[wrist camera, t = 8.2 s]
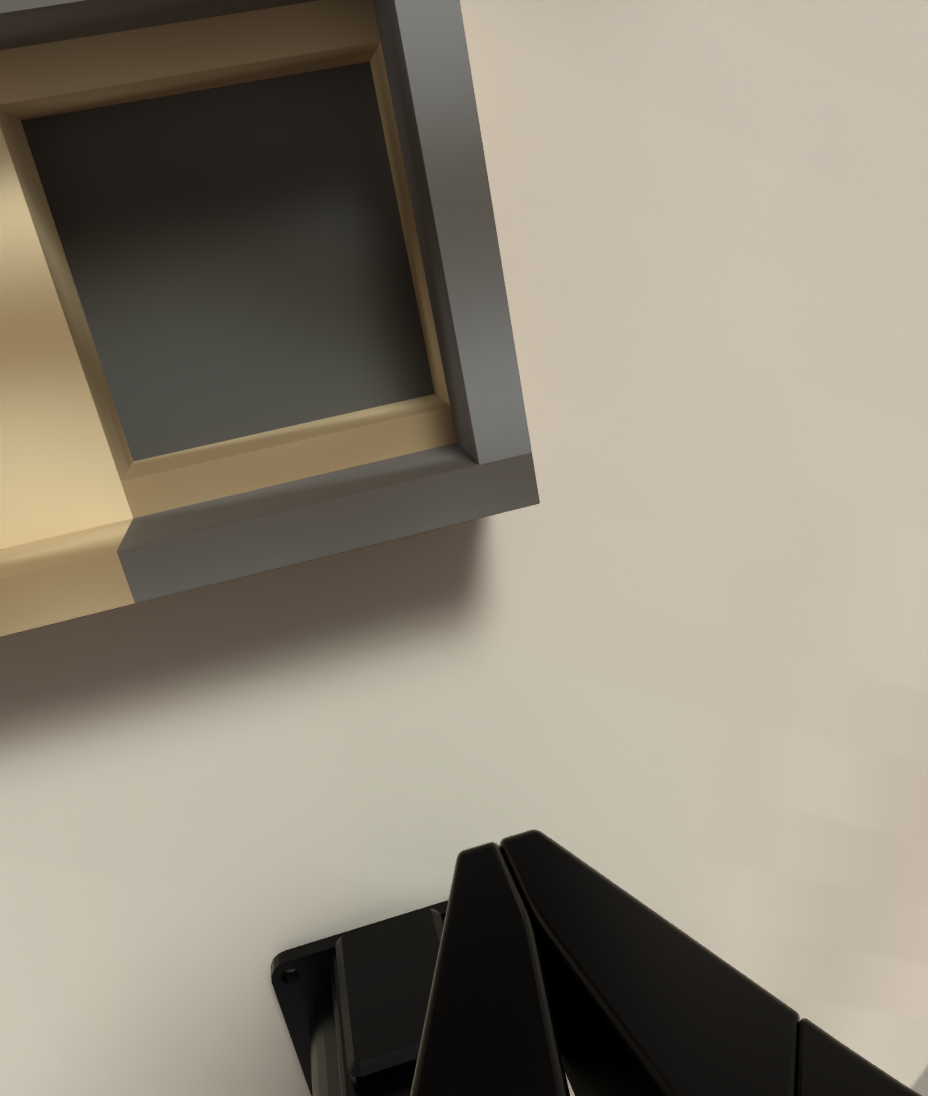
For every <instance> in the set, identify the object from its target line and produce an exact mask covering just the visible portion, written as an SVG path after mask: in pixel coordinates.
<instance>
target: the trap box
mask: <svg viewBox="0 0 928 1096" xmlns="http://www.w3.org/2000/svg"><path fill="white" fill-rule="evenodd" d="M539 503H540V502H539V495H538V489H537V483H536V477H535V470H534V464H533V458H532V452H531V445H530V439H529V433H528V427H527V420H526V414H525V408H524V401H523V395H522V389H521V383H520V376H519V370H518V364H517V358H516V351H515V345H514V339H513V332H512V326H511V320H510V314H509V307H508V301H507V295H506V289H505V282H504V276H503V270H502V264H501V257H500V251H499V245H498V238H497V232H496V226H495V220H494V213H493V207H492V201H491V195H490V188H489V182H488V176H487V169H486V163H485V157H484V151H483V144H482V138H481V132H480V126H479V119H478V113H477V107H476V101H475V94H474V88H473V82H472V75H471V69H470V63H469V57H468V50H467V44H466V38H465V32H464V25H463V19H462V13H461V7H460V0H0V637H1V636H5V635H9V634H13V633H17V632H21V631H25V630H29V629H33V628H37V627H41V626H45V625H49V624H53V623H57V622H62V621H66V620H70V619H74V618H78V617H82V616H86V615H90V614H94V613H98V612H102V611H106V610H110V609H114V608H118V607H122V606H126V605H130V604H134V603H138V602H142V601H147V600H151V599H155V598H159V597H163V596H167V595H171V594H175V593H179V592H183V591H187V590H191V589H195V588H199V587H203V586H207V585H211V584H215V583H219V582H223V581H228V580H232V579H236V578H240V577H244V576H248V575H252V574H256V573H260V572H264V571H268V570H272V569H276V568H280V567H284V566H288V565H292V564H296V563H300V562H304V561H309V560H313V559H317V558H321V557H325V556H329V555H333V554H337V553H341V552H345V551H349V550H353V549H357V548H361V547H365V546H369V545H373V544H377V543H381V542H385V541H390V540H394V539H398V538H402V537H406V536H410V535H414V534H418V533H422V532H426V531H430V530H434V529H438V528H442V527H446V526H450V525H454V524H458V523H462V522H466V521H471V520H475V519H479V518H483V517H487V516H491V515H495V514H499V513H503V512H507V511H511V510H515V509H519V508H523V507H527V506H531V505H535V504H539Z"/></svg>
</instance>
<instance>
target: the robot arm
mask: <svg viewBox="0 0 928 1096" xmlns="http://www.w3.org/2000/svg"><path fill="white" fill-rule="evenodd" d="M292 968H294V969H297V970H295V971H294V972H285V970H287V969H292ZM271 978H272V984H273V987H274V990H275V993H276V996H277V998H278V1001H279V1004H280V1007H281V1010H282V1013H283V1016H284V1018H285V1021H286V1024H287V1027H288V1030H289V1033H290V1036H291V1039H292V1041H293V1044H294V1047H295V1050H296V1053H297V1056H298V1059H299V1061H300V1064H301V1067H302V1070H303V1073H304V1076H305V1079H306V1081H307V1084H308V1087H309V1090H310V1093H311V1096H570V1094H569V1089H568V1084H567V1079H566V1075H567V1078H568V1080H569V1082H570V1085H571V1087H572V1089H573V1092H574V1094H575V1096H922V1095H920V1094H918V1093H917V1092H915V1091H913V1090H912V1089H910V1088H908V1087H907V1086H905V1085H903V1084H902V1083H900V1082H899V1081H897V1080H896V1079H894V1078H893V1077H891V1076H890V1075H888V1074H887V1073H885V1072H884V1071H882V1070H881V1069H879V1068H878V1067H876V1066H875V1065H873V1064H872V1063H870V1062H869V1061H867V1060H866V1059H864V1058H863V1057H861V1056H860V1055H858V1054H857V1053H855V1052H854V1051H852V1050H851V1049H849V1048H848V1047H846V1046H845V1045H843V1044H842V1043H840V1042H839V1041H838V1040H836V1039H835V1038H833V1037H832V1036H831V1035H829V1034H828V1033H826V1032H825V1031H823V1030H822V1029H821V1028H819V1027H818V1026H816V1025H815V1024H814V1023H812V1022H811V1021H809V1020H808V1019H806V1018H803V1019H801V1020H800V1018H799V1014H798V1013H797V1012H796V1011H795V1010H793V1009H792V1008H790V1007H789V1006H788V1005H786V1004H785V1003H783V1002H782V1001H780V1000H779V999H778V998H776V997H775V996H773V995H772V994H771V993H769V992H768V991H766V990H765V989H763V988H762V987H761V986H759V985H758V984H756V983H755V982H753V981H752V980H751V979H749V978H748V977H746V976H745V975H744V974H742V973H741V972H739V971H738V970H736V969H735V968H734V967H732V966H731V965H729V964H728V963H727V962H725V961H724V960H722V959H721V958H719V957H718V956H717V955H715V954H714V953H712V952H711V951H710V950H708V949H707V948H705V947H704V946H702V945H701V944H700V943H698V942H697V941H695V940H694V939H692V938H691V937H690V936H688V935H687V934H685V933H684V932H683V931H681V930H680V929H678V928H677V927H675V926H674V925H673V924H671V923H670V922H668V921H667V920H666V919H664V918H663V917H661V916H660V915H658V914H657V913H656V912H654V911H653V910H651V909H650V908H649V907H647V906H646V905H644V904H643V903H641V902H640V901H639V900H637V899H636V898H634V897H633V896H631V895H630V894H629V893H627V892H626V891H624V890H623V889H622V888H620V887H619V886H617V885H616V884H614V883H613V882H612V881H610V880H609V879H607V878H606V877H605V876H603V875H602V874H600V873H599V872H597V871H596V870H595V869H593V868H592V867H590V866H589V865H588V864H586V863H585V862H583V861H582V860H580V859H579V858H578V857H576V856H575V855H573V854H572V853H570V852H569V851H568V850H566V849H565V848H563V847H562V846H561V845H559V844H558V843H556V842H555V841H553V840H552V839H551V838H549V837H548V836H546V835H545V834H544V833H542V832H540V831H538V830H530V831H526V832H523V833H520V834H516V835H513V836H510V837H506V838H504V839H502V841H501V842H500V846H498V845H497V844H496V843H494V842H490V843H486V844H483V845H480V846H476V847H473V848H470V849H466V850H463V851H461V852H460V853H459V855H458V857H457V860H456V865H455V870H454V876H453V881H452V886H451V891H450V896H449V900H448V901H444V902H441V903H438V904H435V905H431V906H428V907H425V908H422V909H418V910H415V911H412V912H409V913H406V914H402V915H399V916H396V917H393V918H389V919H386V920H383V921H380V922H376V923H373V924H370V925H367V926H363V927H360V928H357V929H354V930H350V931H347V932H344V933H341V934H337V935H334V936H331V937H328V938H324V939H321V940H318V941H315V942H311V943H308V944H305V945H302V946H298V947H295V948H292V949H289V950H286V951H283V952H281V953H279V954H278V955H277V956H276V957H275V958H274V959H273V962H272V964H271ZM565 1073H566V1074H565Z"/></svg>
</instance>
